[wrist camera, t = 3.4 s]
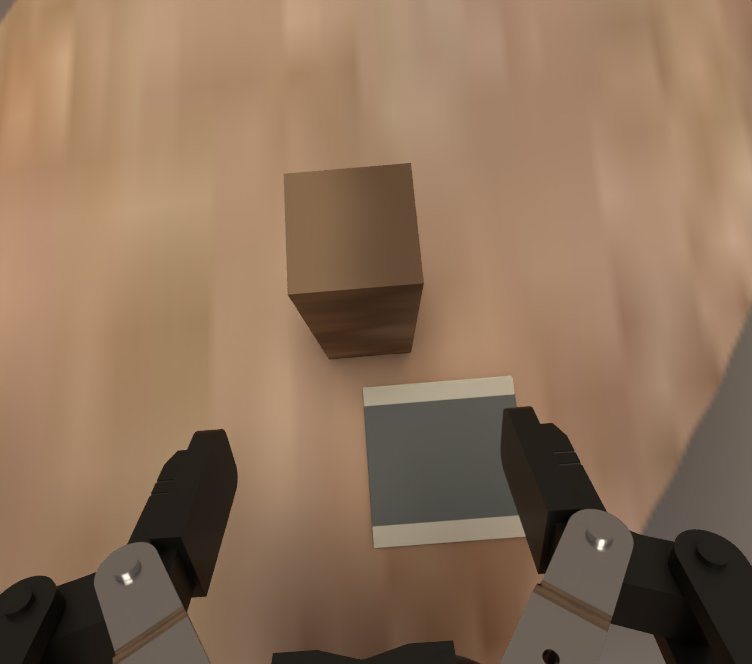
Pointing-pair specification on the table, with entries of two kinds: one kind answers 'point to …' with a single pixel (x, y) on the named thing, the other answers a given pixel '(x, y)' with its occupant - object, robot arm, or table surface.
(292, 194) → the block
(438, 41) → the table surface
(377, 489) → the mat
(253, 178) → the table surface
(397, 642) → the table surface
